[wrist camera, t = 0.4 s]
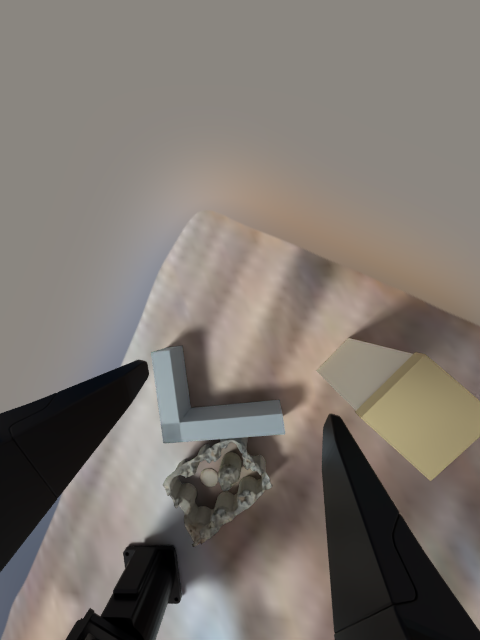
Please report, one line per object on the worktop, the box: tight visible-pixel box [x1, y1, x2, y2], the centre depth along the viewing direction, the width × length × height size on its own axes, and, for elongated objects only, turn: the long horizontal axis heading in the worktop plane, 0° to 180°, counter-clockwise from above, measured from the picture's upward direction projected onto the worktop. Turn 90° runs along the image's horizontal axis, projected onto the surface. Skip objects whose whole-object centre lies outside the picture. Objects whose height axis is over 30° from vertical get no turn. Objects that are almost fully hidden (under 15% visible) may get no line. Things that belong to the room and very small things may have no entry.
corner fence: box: [151, 346, 285, 443], centre depth 23 cm, size 10×12×4 cm
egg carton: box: [163, 437, 273, 547], centre depth 23 cm, size 11×8×4 cm
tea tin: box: [317, 338, 480, 481], centre depth 18 cm, size 5×5×11 cm
